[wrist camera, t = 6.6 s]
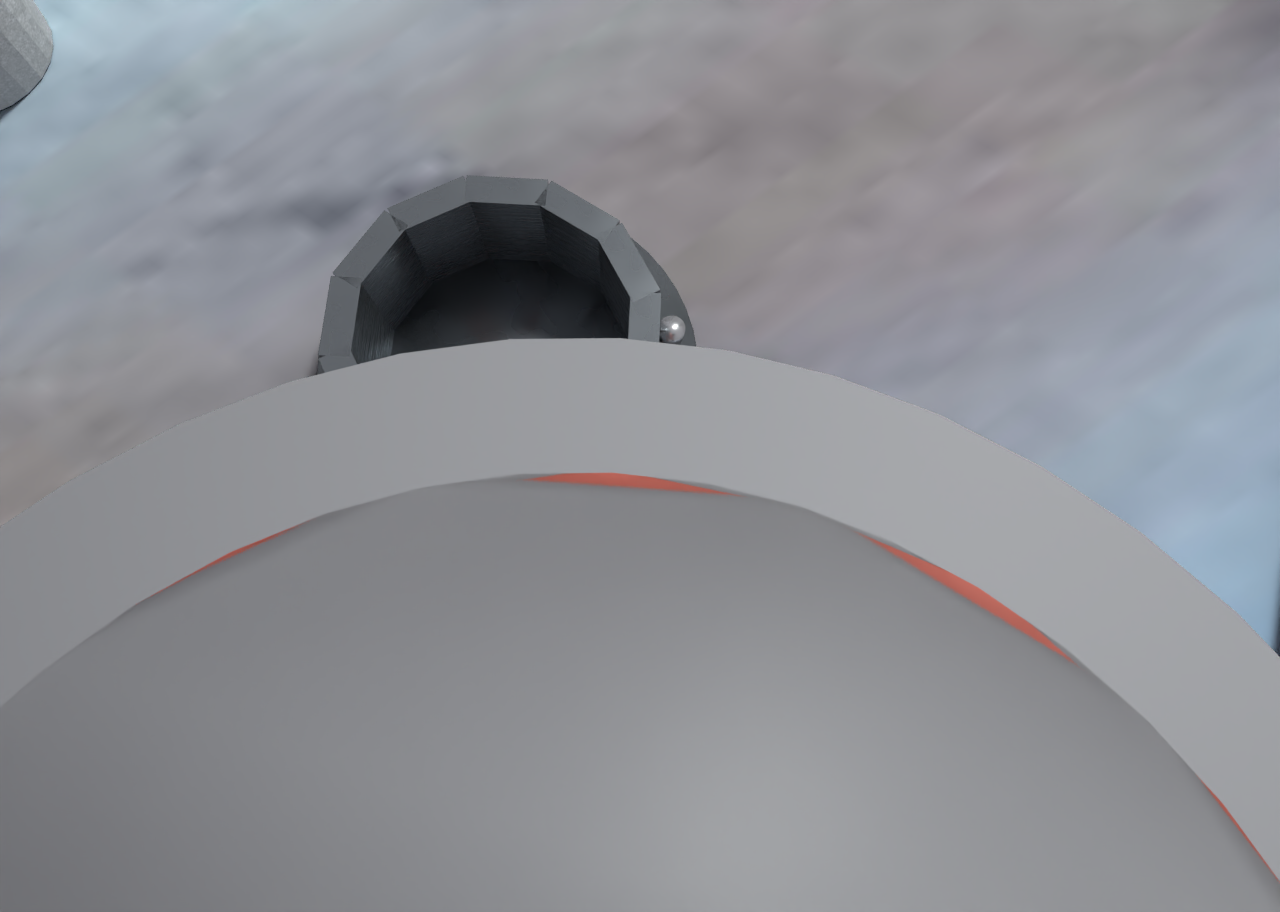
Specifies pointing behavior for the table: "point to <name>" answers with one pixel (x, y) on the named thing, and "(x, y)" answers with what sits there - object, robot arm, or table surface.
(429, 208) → the pipe socket
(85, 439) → the table surface
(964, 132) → the table surface
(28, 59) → the house plant
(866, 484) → the orange capped cylinder
